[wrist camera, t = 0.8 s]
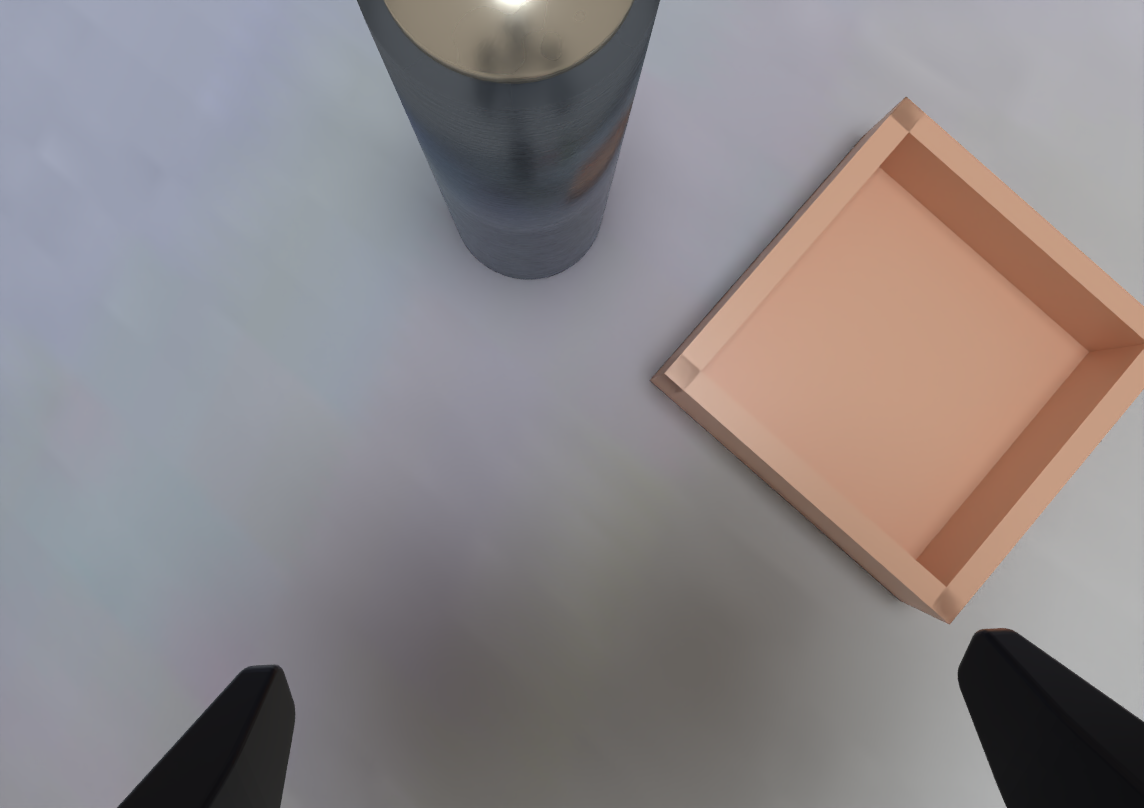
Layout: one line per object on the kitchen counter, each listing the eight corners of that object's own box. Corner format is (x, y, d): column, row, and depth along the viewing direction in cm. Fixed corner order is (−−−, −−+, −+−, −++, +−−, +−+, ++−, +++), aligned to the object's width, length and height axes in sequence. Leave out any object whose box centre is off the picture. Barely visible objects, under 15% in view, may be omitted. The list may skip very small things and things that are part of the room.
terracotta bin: (900, 600, 24) (949, 624, 21) (649, 380, 24) (664, 373, 21) (1107, 351, 25) (1182, 341, 22) (863, 136, 25) (906, 96, 22)
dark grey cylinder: (535, 310, 24) (521, 166, 11) (422, 210, 24) (274, -53, 11) (633, 199, 25) (735, -69, 11) (522, 101, 25) (493, -284, 11)
